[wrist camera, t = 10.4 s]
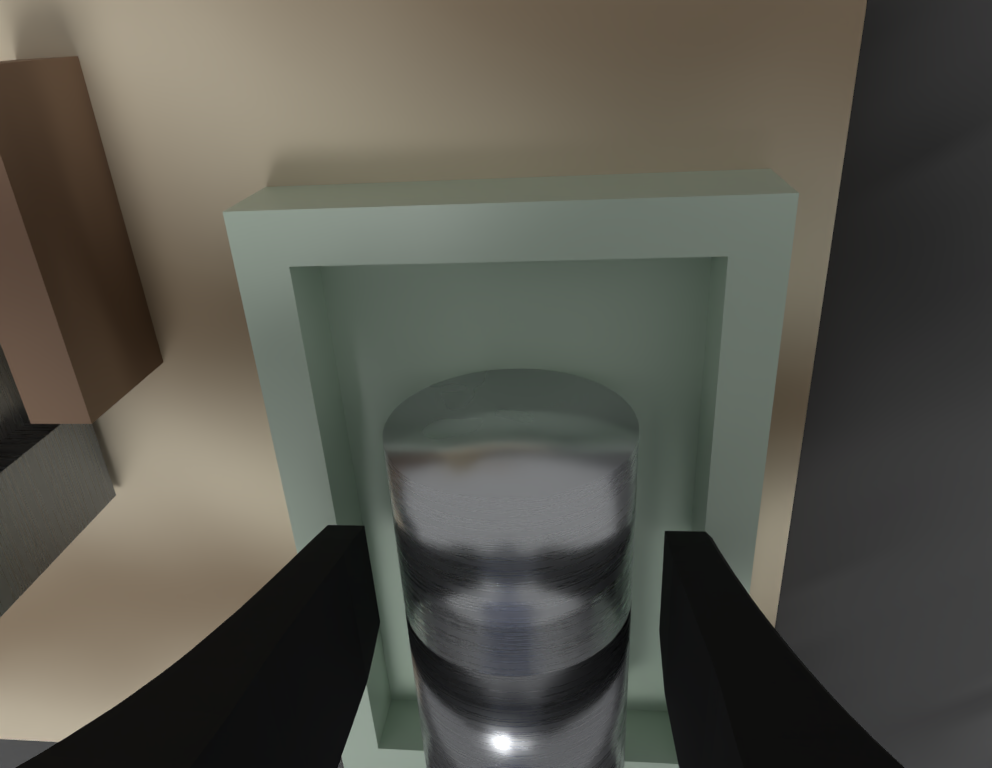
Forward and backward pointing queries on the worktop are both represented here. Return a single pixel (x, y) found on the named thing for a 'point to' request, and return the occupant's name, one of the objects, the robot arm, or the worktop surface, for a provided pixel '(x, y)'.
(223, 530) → the board
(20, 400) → the grey stepped block
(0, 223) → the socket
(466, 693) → the grey cylinder
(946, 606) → the worktop surface
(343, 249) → the tray
